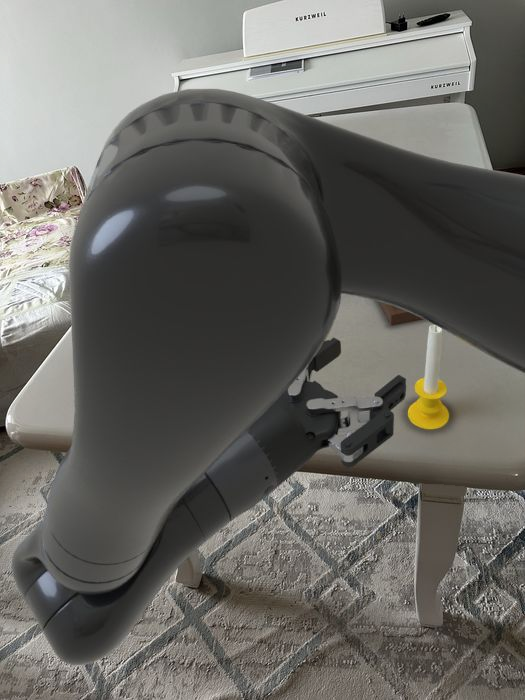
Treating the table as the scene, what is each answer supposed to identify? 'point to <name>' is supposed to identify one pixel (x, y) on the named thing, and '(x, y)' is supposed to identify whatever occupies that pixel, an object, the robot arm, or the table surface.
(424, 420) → the candle
